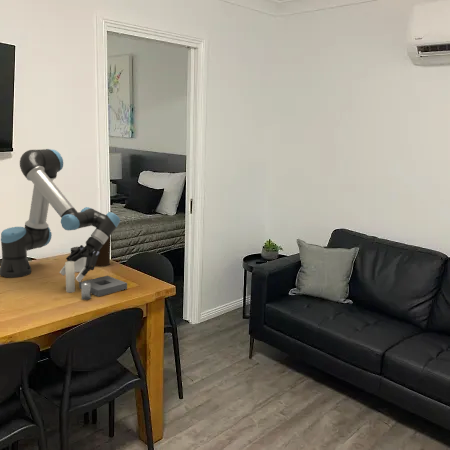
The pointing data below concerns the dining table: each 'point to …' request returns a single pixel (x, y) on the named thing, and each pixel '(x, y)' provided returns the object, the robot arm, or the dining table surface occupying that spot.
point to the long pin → (70, 276)
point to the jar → (79, 261)
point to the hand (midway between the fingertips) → (69, 277)
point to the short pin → (85, 290)
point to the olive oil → (104, 254)
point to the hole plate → (105, 285)
